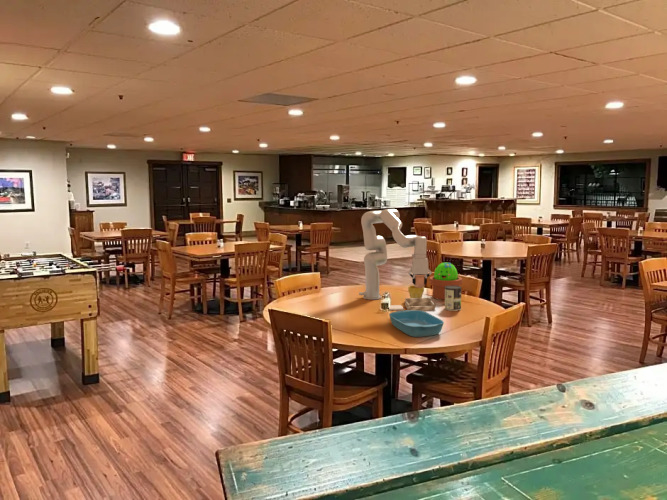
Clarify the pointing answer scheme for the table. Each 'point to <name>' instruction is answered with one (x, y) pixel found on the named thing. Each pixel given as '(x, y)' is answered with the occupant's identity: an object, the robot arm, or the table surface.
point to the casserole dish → (416, 323)
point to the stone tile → (396, 307)
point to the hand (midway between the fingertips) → (419, 284)
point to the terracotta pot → (419, 281)
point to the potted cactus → (444, 279)
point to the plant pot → (415, 292)
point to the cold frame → (419, 304)
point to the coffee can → (453, 298)
